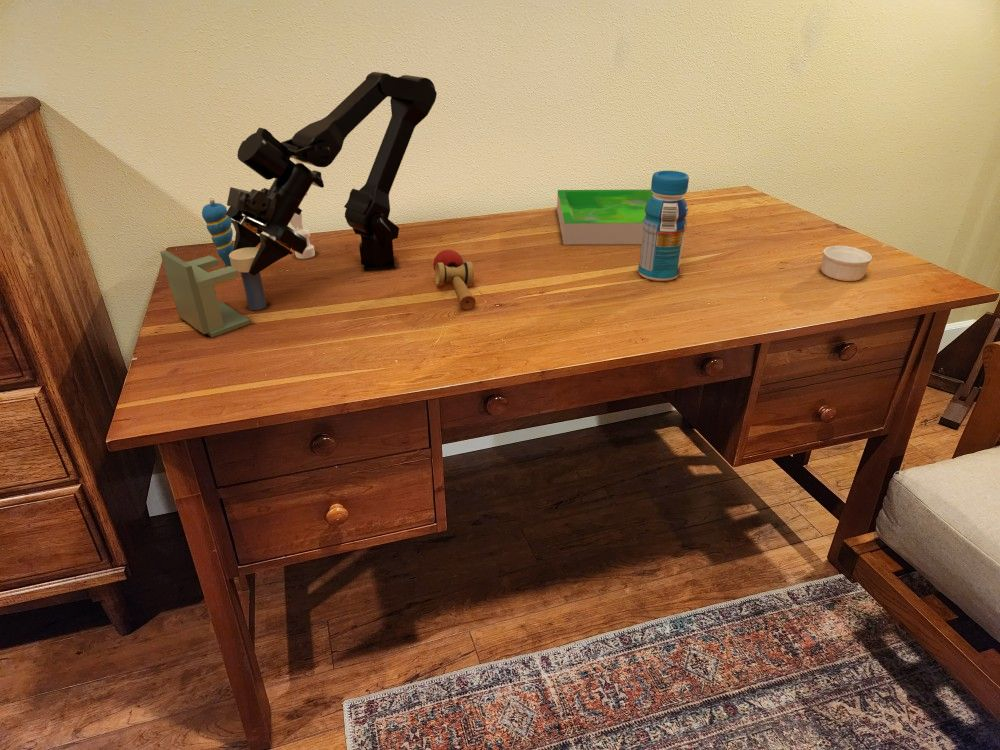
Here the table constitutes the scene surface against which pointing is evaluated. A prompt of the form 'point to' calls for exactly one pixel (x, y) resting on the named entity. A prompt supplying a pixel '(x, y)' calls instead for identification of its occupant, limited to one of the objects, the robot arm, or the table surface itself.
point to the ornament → (219, 229)
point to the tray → (602, 216)
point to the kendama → (455, 275)
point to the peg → (249, 277)
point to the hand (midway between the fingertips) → (241, 269)
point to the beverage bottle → (664, 226)
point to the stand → (201, 294)
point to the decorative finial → (302, 233)
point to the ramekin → (845, 263)
